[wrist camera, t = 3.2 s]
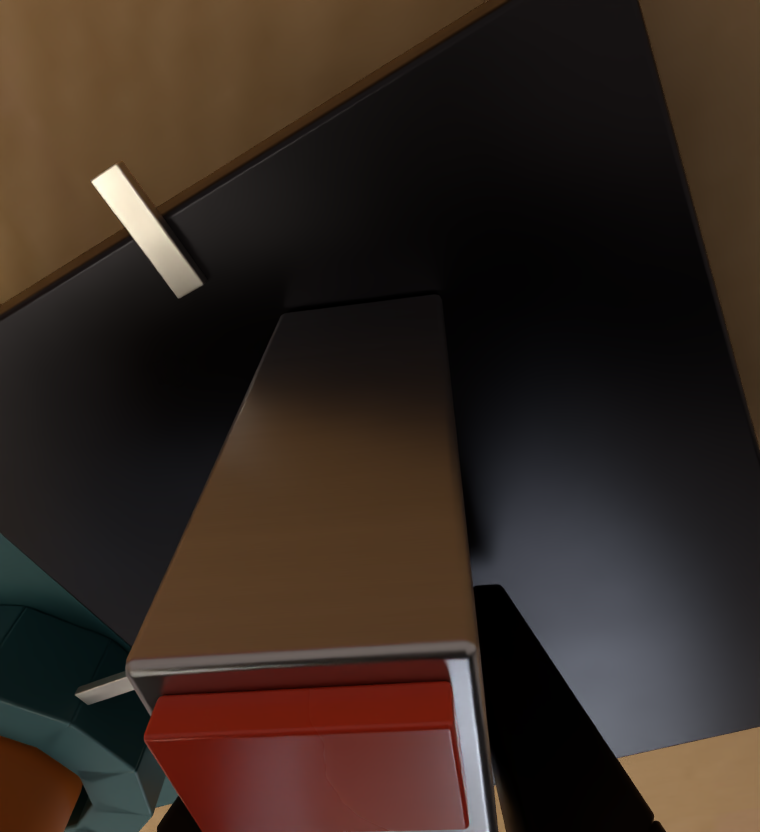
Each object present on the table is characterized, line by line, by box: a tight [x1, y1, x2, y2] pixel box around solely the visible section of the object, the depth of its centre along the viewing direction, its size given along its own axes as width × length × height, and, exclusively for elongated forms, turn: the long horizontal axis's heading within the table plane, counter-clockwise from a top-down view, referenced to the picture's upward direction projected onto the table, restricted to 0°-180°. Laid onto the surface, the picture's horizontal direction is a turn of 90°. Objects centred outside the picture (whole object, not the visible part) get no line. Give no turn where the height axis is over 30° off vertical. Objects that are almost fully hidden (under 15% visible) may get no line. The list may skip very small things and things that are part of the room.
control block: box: [0, 534, 178, 832], centre depth 14 cm, size 10×8×4 cm
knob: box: [125, 294, 498, 832], centre depth 7 cm, size 9×2×5 cm, turn 9°
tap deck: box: [0, 0, 760, 785], centre depth 10 cm, size 13×13×3 cm
